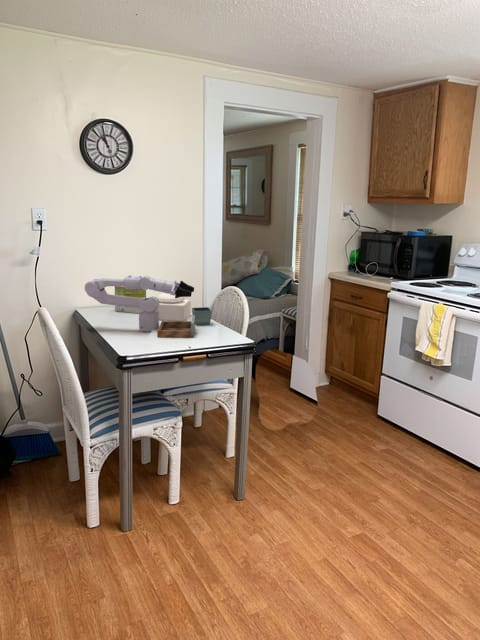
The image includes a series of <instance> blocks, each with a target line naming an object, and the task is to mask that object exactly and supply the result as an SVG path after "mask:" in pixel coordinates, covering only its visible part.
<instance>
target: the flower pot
mask: <svg viewBox="0 0 480 640" xmlns="http://www.w3.org/2000/svg"><path fill="white" fill-rule="evenodd" d="M191 313H192V315H195V320H196V324H195V326H207V325H208V326H209V325H210V323H211V321H212V314H213V310H212V309H211V308H210V307H207V306H205V307H191Z"/></svg>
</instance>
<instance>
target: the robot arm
mask: <svg viewBox="0 0 480 640" xmlns="http://www.w3.org/2000/svg"><path fill="white" fill-rule="evenodd" d="M115 286H124V287H125V288H126V289H140V288H142V289H143V290H146V291H148V290H151V291H154V292H158V293H159V292H160V293H169V294H170V295H175V298H179V297H184V298H189V297H192V293H194V292H195V287H194V286H192V285H189V284H188V283H185V282H184V281H183V280H180V282H177V279H175V280H174V281H171V280H170V281H169V280H163V279H159V278H152V277H150V276H149V275H145V276H142V275H139V276H132V275H128V276H126V277H125V278H106V277H105V278H95V279H93V280H91V281H87V282H86V283H85V284H84V291H85V293H86V294H87V296H89V297H90V298H93V299H94V300H95V301H97V302H98V303H100V304H101V305H108V306H111V305H112V306H115V305H117V306H125V307H133V308H138V309H140V310H144V311H143V312H140V313H138V331H139V332H152V331H153V329H157V328H159V326H160V320H159V310H158V307H159V304H160V302H159V300H158V298H157V296H150V297H146V298H136V297H128V296H119V295H115V294H110V293H108V292H107V291H106V287H115Z"/></svg>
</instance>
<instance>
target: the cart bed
mask: <svg viewBox="0 0 480 640" xmlns="http://www.w3.org/2000/svg"><path fill="white" fill-rule="evenodd" d="M195 331H196V329H195V330H194V332H195ZM156 333H157V335H156V336H157V337H156V338H164V339H165V338H167V339H168V338H170V339H171V338H174V339H176V338H177V339H178V338H179V339H184V338H185V339H193V338H195V337H194V336H195V335H194V336H191V321H187V320H185V321H161V322H160V323H159V328H158V329H157V331H156Z"/></svg>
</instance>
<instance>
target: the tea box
mask: <svg viewBox="0 0 480 640" xmlns="http://www.w3.org/2000/svg"><path fill="white" fill-rule="evenodd" d="M114 295H119V296H128V297H136V298H147V290H143V289H142V288H140V289H126V288H125V287H124V286H114ZM114 310H115V312H122V313H132V314H139V313H140V312H144V310H140V309H138V308H133V307H125V306H117V305H114Z"/></svg>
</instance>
